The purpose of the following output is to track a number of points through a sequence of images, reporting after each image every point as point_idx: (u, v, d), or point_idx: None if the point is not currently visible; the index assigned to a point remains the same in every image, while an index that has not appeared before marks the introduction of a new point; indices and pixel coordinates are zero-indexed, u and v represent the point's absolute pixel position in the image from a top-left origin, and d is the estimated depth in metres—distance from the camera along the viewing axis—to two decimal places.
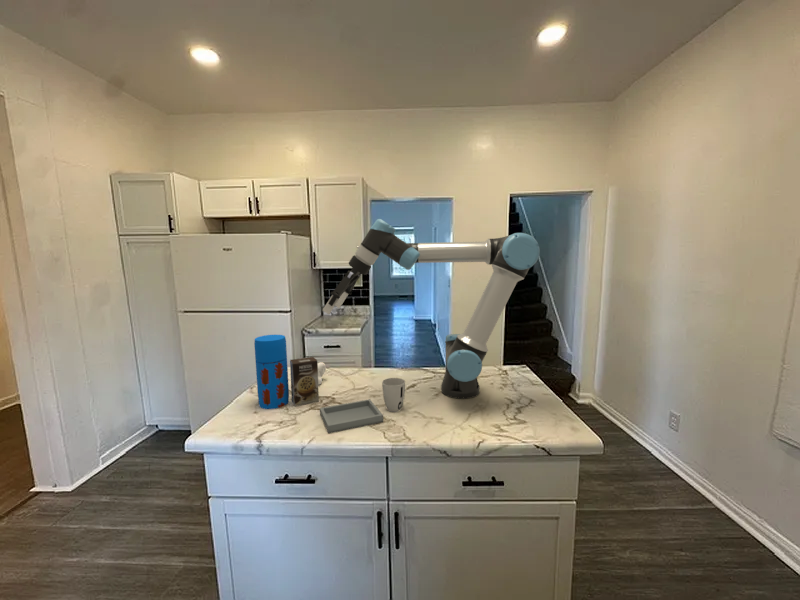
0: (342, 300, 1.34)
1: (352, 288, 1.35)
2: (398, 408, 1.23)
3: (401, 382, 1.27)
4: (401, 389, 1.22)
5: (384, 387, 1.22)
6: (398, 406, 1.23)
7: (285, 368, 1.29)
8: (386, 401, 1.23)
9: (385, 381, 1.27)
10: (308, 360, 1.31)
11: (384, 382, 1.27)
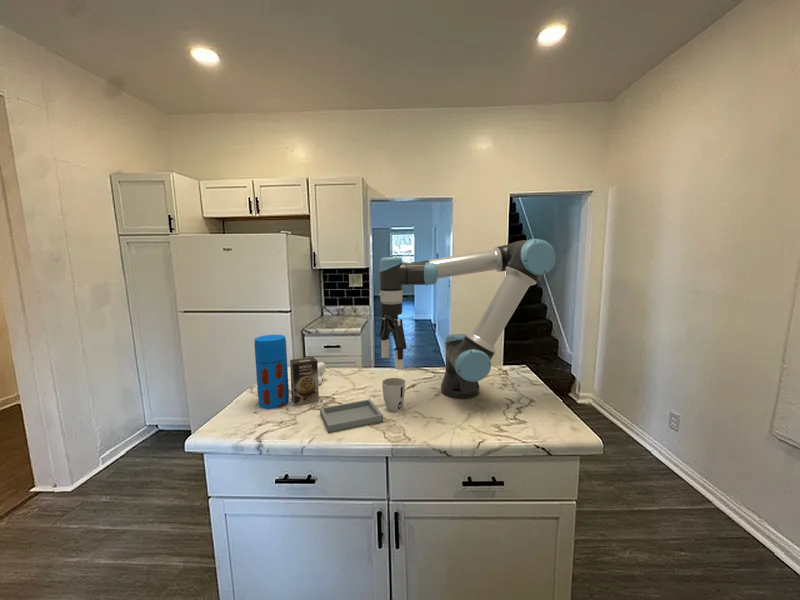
0: (387, 348, 1.30)
1: None
2: (398, 408, 1.23)
3: (401, 382, 1.27)
4: (401, 389, 1.22)
5: (384, 387, 1.22)
6: (398, 406, 1.23)
7: (285, 368, 1.29)
8: (386, 401, 1.23)
9: (385, 381, 1.27)
10: (308, 360, 1.31)
11: (384, 382, 1.27)
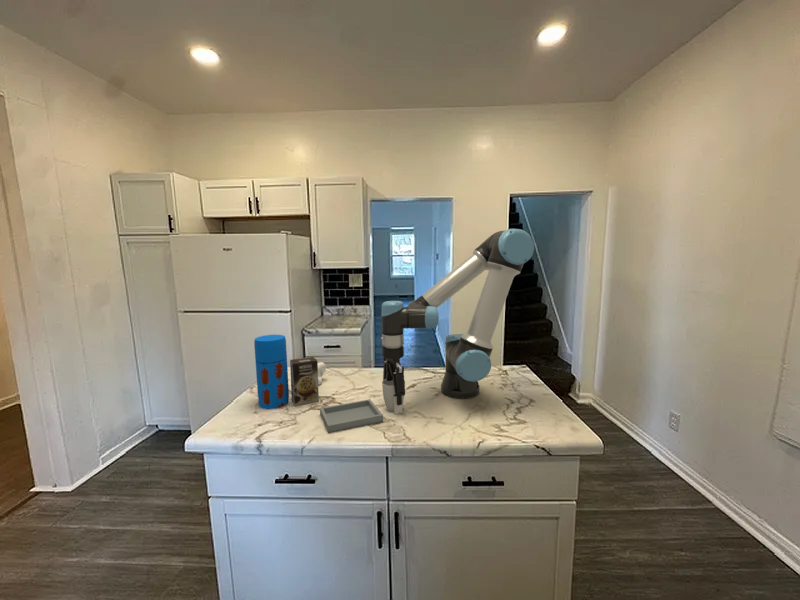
0: None
1: None
2: None
3: None
4: None
5: (384, 387, 1.22)
6: None
7: (285, 368, 1.29)
8: (386, 401, 1.23)
9: (385, 381, 1.27)
10: (308, 360, 1.31)
11: (384, 382, 1.27)
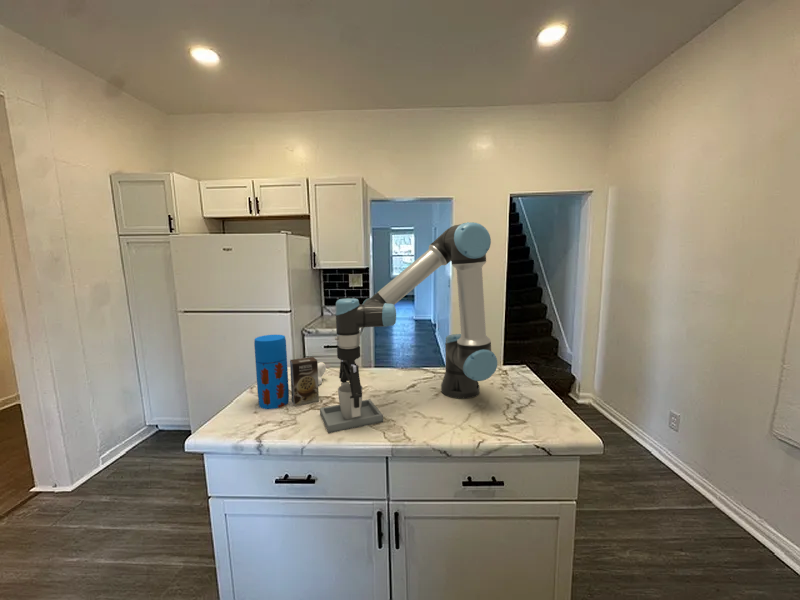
0: None
1: None
2: None
3: None
4: None
5: (339, 394, 1.15)
6: None
7: (285, 368, 1.29)
8: (342, 409, 1.16)
9: (342, 387, 1.20)
10: (308, 360, 1.31)
11: (341, 388, 1.19)
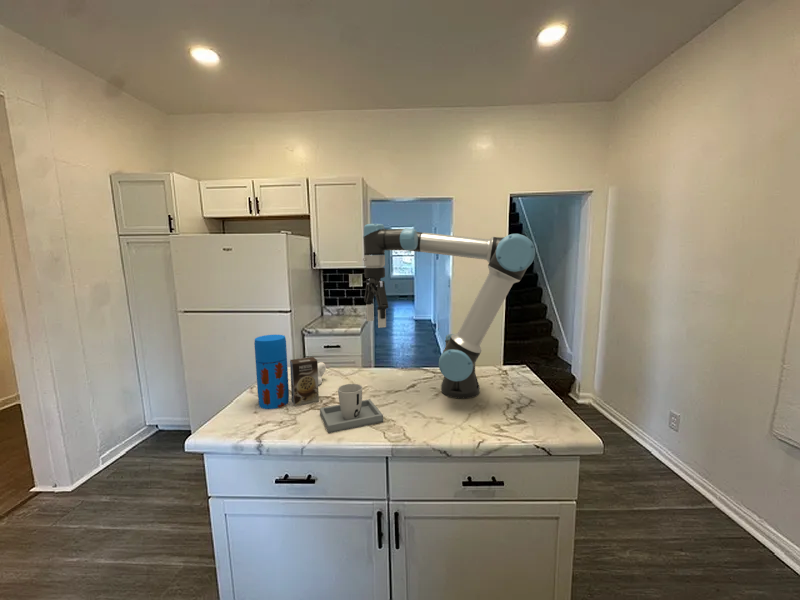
0: (372, 312, 1.38)
1: None
2: (354, 416, 1.16)
3: (359, 388, 1.20)
4: (357, 396, 1.15)
5: (339, 394, 1.15)
6: (354, 414, 1.16)
7: (285, 368, 1.29)
8: (342, 409, 1.16)
9: (342, 387, 1.20)
10: (308, 360, 1.31)
11: (341, 388, 1.19)
